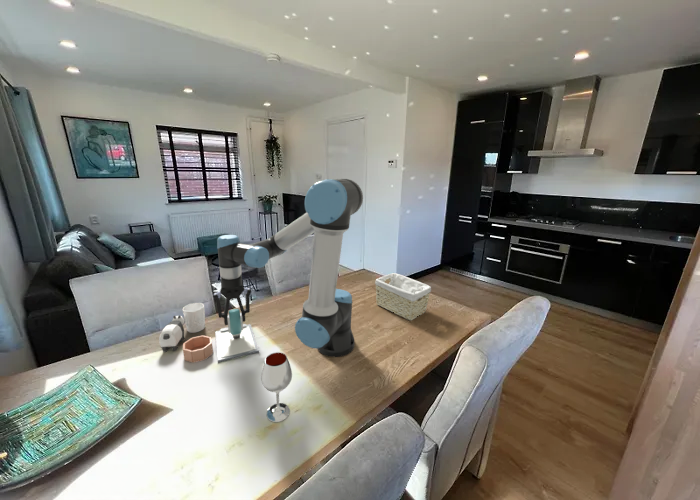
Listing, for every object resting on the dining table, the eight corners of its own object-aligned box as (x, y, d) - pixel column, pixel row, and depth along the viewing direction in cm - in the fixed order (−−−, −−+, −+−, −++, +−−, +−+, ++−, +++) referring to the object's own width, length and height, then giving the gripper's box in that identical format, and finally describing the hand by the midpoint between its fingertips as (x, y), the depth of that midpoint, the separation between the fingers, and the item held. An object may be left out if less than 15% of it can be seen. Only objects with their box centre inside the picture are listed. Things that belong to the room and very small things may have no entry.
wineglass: (266, 401, 83) (263, 349, 78) (294, 400, 84) (293, 349, 79) (260, 425, 75) (256, 370, 70) (291, 424, 76) (289, 369, 71)
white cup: (197, 334, 114) (194, 313, 111) (181, 332, 115) (177, 310, 113) (210, 324, 121) (208, 304, 119) (194, 322, 123) (192, 301, 120)
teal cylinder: (242, 337, 110) (240, 311, 109) (231, 340, 108) (229, 313, 107) (241, 334, 114) (238, 308, 112) (230, 336, 112) (228, 310, 111)
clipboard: (259, 352, 105) (258, 348, 105) (218, 362, 99) (217, 358, 98) (250, 325, 122) (250, 322, 122) (215, 333, 116) (214, 329, 115)
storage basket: (429, 312, 140) (433, 285, 135) (410, 324, 129) (414, 294, 125) (391, 296, 156) (394, 271, 152) (372, 305, 145) (374, 278, 141)
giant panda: (176, 353, 103) (172, 330, 100) (159, 354, 102) (155, 331, 99) (191, 331, 117) (188, 310, 114) (176, 331, 116) (173, 311, 113)
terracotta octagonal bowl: (213, 357, 101) (212, 347, 100) (184, 364, 97) (182, 353, 96) (212, 343, 109) (211, 333, 108) (185, 349, 105) (183, 339, 103)
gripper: (253, 269, 113) (256, 320, 119) (205, 275, 105) (211, 329, 112) (256, 276, 106) (259, 330, 113) (206, 282, 99) (212, 339, 105)
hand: (235, 329), depth 112 cm, fingers closed on teal cylinder, 4 cm apart
